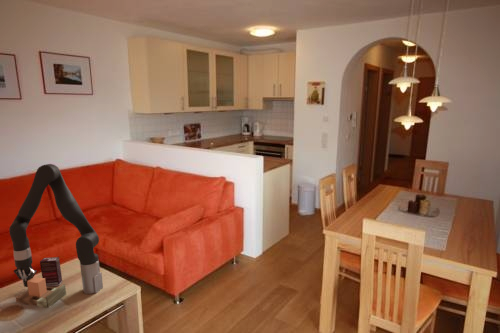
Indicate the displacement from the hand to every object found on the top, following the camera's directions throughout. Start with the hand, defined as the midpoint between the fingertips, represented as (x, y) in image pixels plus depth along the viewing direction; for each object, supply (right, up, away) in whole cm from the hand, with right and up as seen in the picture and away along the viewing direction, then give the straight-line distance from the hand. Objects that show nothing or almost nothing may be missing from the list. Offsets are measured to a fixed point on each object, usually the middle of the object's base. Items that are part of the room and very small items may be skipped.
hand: (27, 286), depth 174 cm
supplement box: (+6, -4, +13) cm, 15 cm away
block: (+6, -4, -1) cm, 7 cm away
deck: (+8, -7, 0) cm, 11 cm away
